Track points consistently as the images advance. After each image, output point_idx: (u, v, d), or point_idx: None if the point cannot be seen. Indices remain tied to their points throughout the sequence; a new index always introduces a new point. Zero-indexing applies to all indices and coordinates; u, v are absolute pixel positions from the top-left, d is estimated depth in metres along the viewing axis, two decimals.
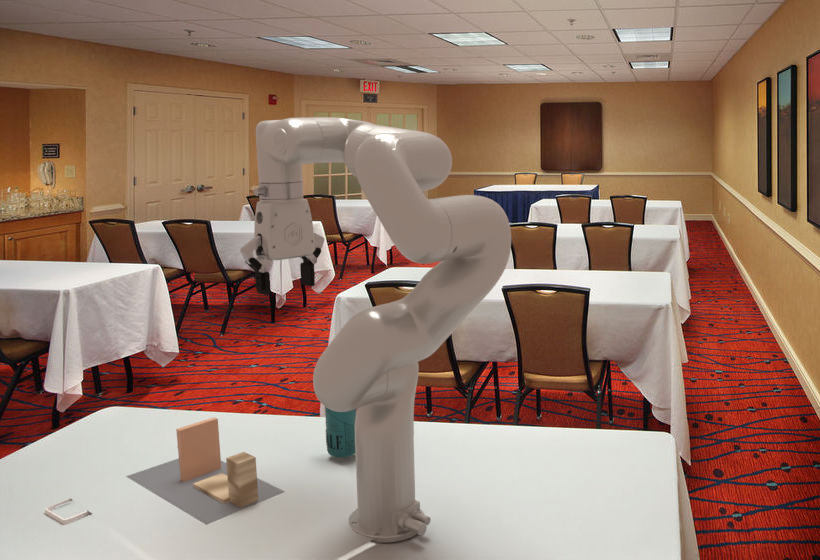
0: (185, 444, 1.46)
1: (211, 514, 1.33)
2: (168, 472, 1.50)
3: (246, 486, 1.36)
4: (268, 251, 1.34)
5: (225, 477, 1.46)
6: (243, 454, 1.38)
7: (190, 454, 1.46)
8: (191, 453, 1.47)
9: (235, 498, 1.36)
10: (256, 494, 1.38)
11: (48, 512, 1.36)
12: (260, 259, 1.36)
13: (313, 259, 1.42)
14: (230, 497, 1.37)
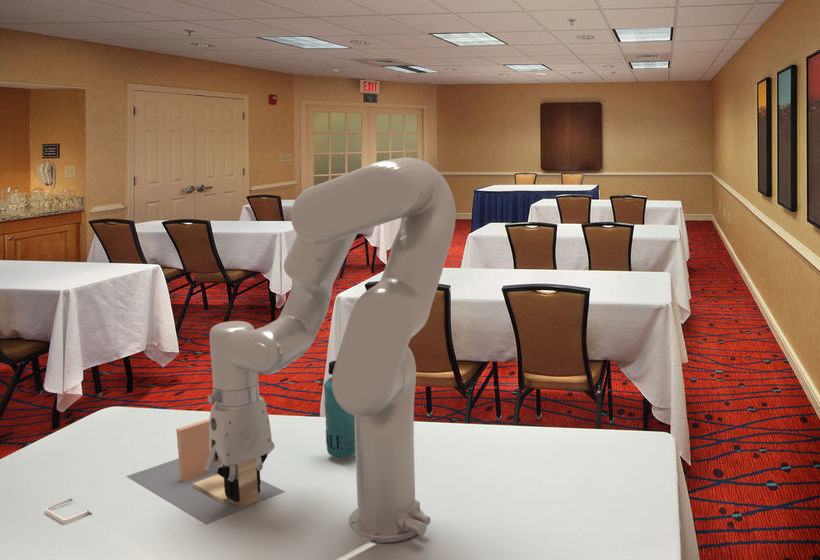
0: (185, 444, 1.46)
1: (211, 514, 1.33)
2: (168, 472, 1.50)
3: (246, 486, 1.36)
4: (222, 459, 1.31)
5: None
6: None
7: (190, 454, 1.46)
8: (191, 453, 1.47)
9: None
10: (256, 494, 1.38)
11: (48, 512, 1.36)
12: None
13: (259, 465, 1.38)
14: None
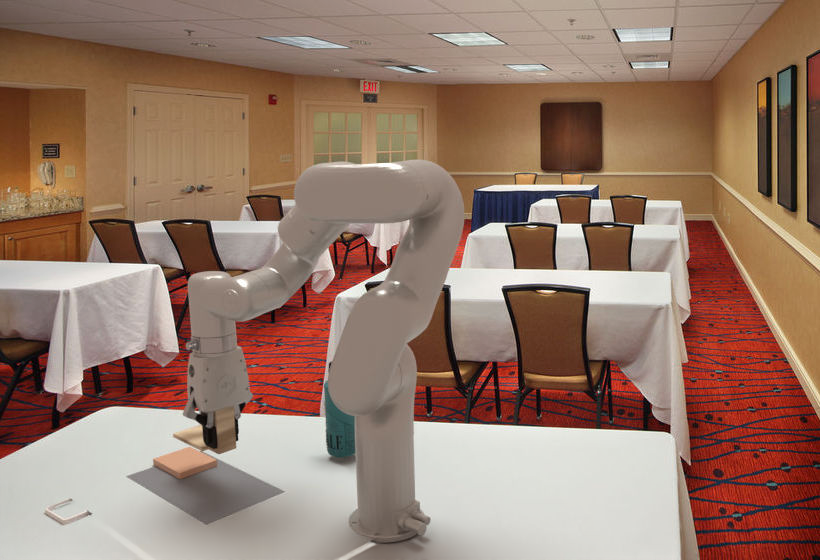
0: (165, 461, 1.52)
1: (211, 514, 1.33)
2: None
3: (224, 433, 1.38)
4: (200, 405, 1.34)
5: None
6: None
7: (175, 463, 1.51)
8: (175, 462, 1.52)
9: None
10: (234, 442, 1.40)
11: (48, 512, 1.36)
12: (203, 412, 1.38)
13: (237, 414, 1.40)
14: None
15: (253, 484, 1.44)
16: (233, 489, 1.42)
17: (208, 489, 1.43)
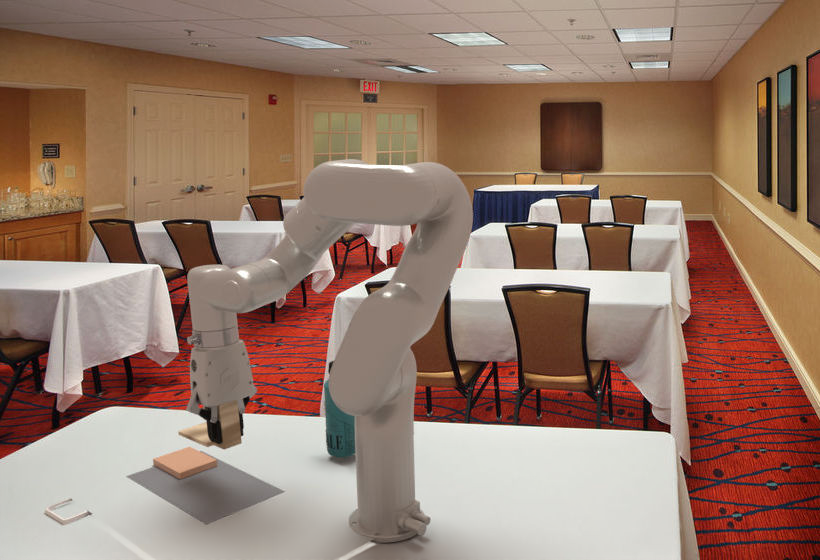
0: (165, 461, 1.52)
1: (211, 514, 1.33)
2: None
3: (228, 428, 1.37)
4: (203, 399, 1.33)
5: None
6: None
7: (175, 463, 1.51)
8: (175, 462, 1.52)
9: None
10: (239, 437, 1.39)
11: (48, 512, 1.36)
12: (207, 407, 1.37)
13: (241, 408, 1.39)
14: None
15: (253, 484, 1.44)
16: (233, 489, 1.42)
17: (208, 489, 1.43)
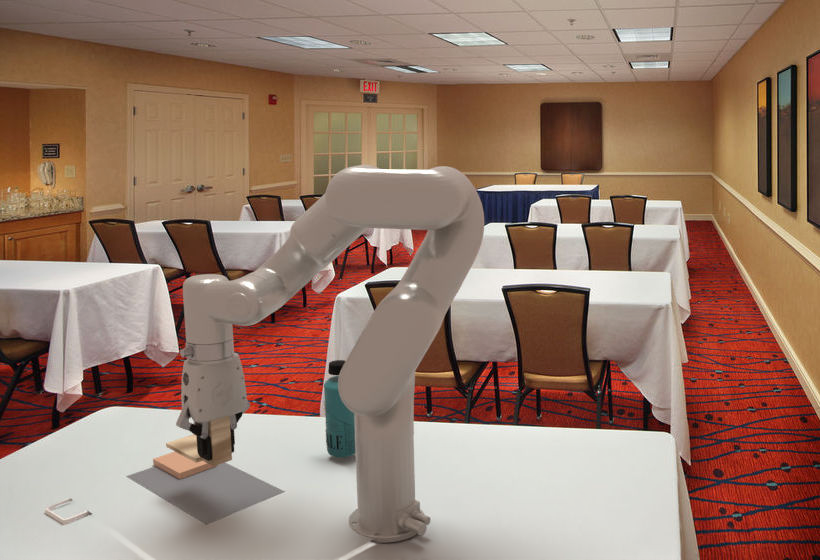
0: (165, 461, 1.52)
1: (211, 514, 1.33)
2: None
3: (219, 444, 1.32)
4: (194, 415, 1.27)
5: None
6: None
7: (175, 463, 1.51)
8: (175, 462, 1.52)
9: None
10: (230, 453, 1.34)
11: (48, 512, 1.36)
12: (198, 422, 1.31)
13: (233, 424, 1.34)
14: None
15: (253, 484, 1.44)
16: (233, 489, 1.42)
17: (208, 489, 1.43)
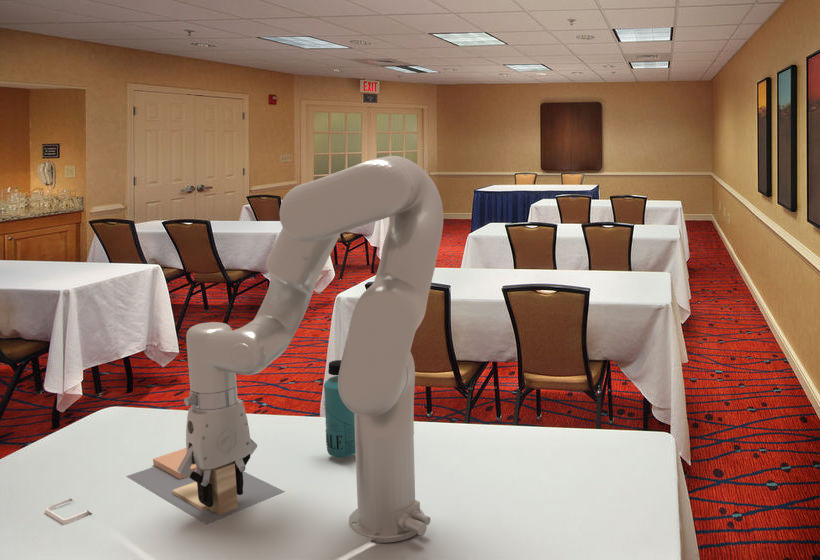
0: (165, 461, 1.52)
1: (211, 514, 1.33)
2: None
3: (224, 493, 1.33)
4: (199, 463, 1.29)
5: None
6: None
7: (175, 463, 1.51)
8: (175, 462, 1.52)
9: (214, 505, 1.34)
10: (235, 501, 1.35)
11: (48, 512, 1.36)
12: (200, 469, 1.32)
13: (241, 467, 1.36)
14: None
15: (253, 484, 1.44)
16: None
17: None
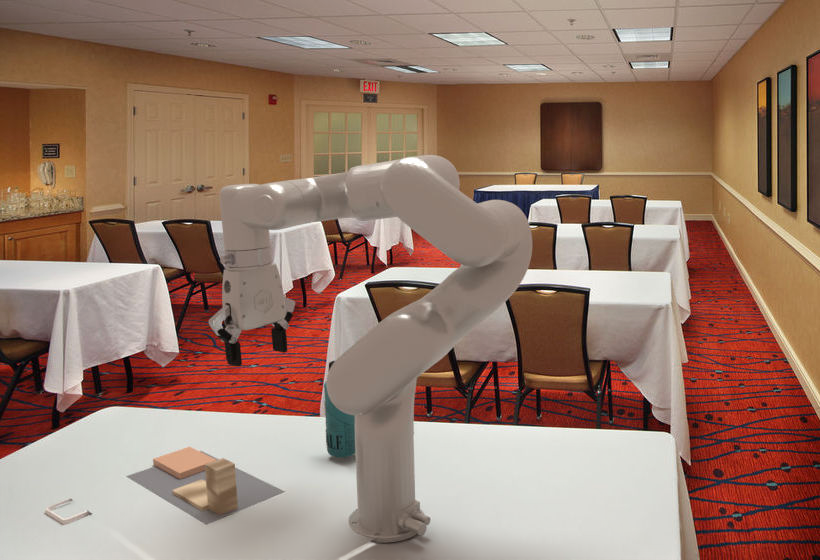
0: (165, 461, 1.52)
1: (211, 514, 1.33)
2: None
3: (224, 493, 1.33)
4: (238, 321, 1.28)
5: (205, 483, 1.43)
6: (222, 460, 1.35)
7: (175, 463, 1.51)
8: (175, 462, 1.52)
9: (214, 505, 1.34)
10: (235, 501, 1.35)
11: (48, 512, 1.36)
12: (229, 329, 1.31)
13: (284, 324, 1.37)
14: (209, 504, 1.35)
15: (253, 484, 1.44)
16: None
17: None
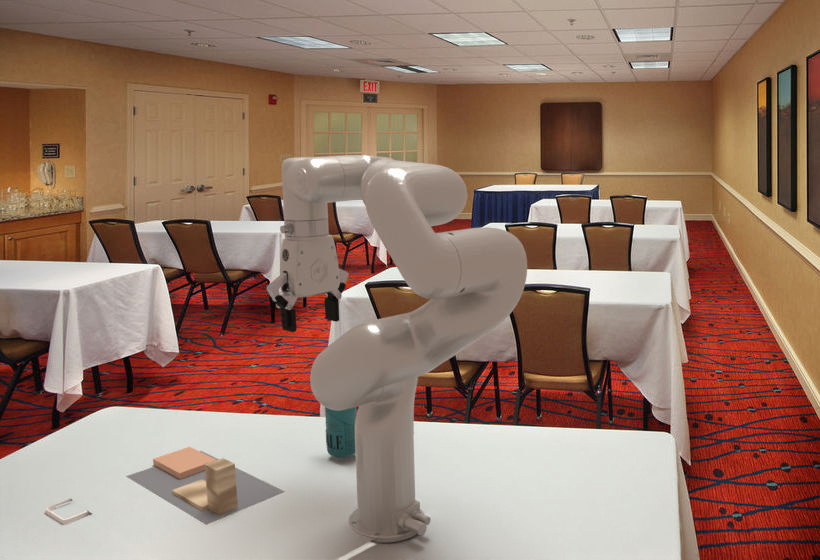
0: (165, 461, 1.52)
1: (211, 514, 1.33)
2: None
3: (224, 493, 1.33)
4: (294, 288, 1.34)
5: (205, 483, 1.43)
6: (222, 460, 1.35)
7: (175, 463, 1.51)
8: (175, 462, 1.52)
9: (214, 505, 1.34)
10: (235, 501, 1.35)
11: (48, 512, 1.36)
12: (286, 296, 1.36)
13: (338, 294, 1.42)
14: (209, 504, 1.35)
15: (253, 484, 1.44)
16: None
17: None
